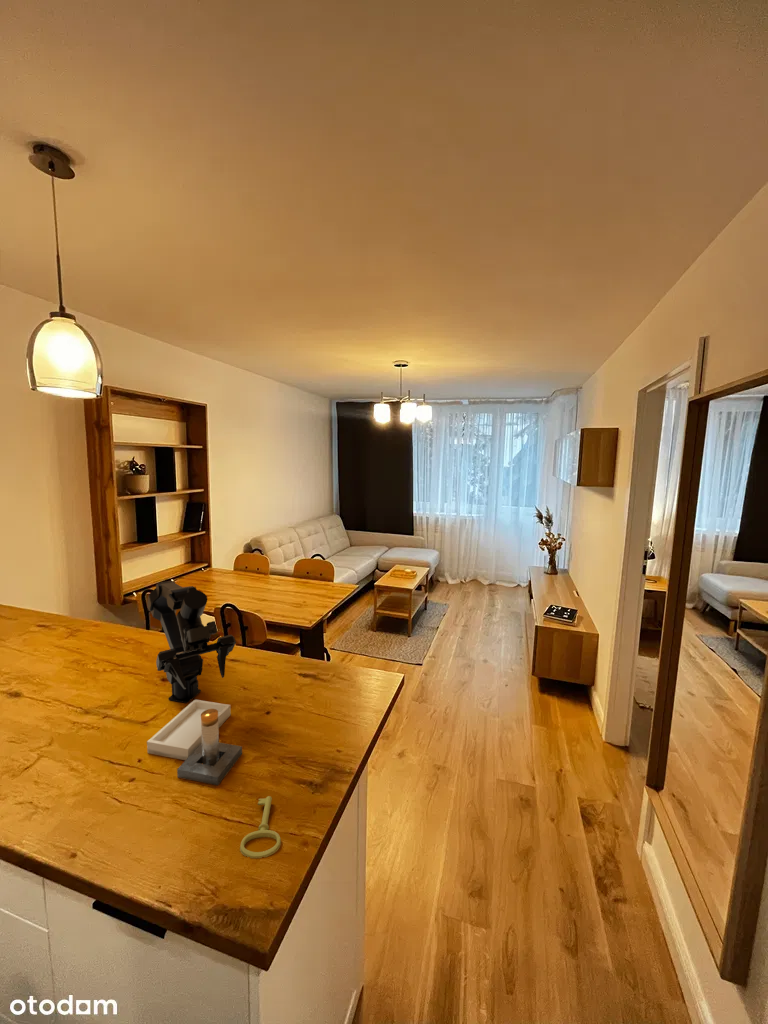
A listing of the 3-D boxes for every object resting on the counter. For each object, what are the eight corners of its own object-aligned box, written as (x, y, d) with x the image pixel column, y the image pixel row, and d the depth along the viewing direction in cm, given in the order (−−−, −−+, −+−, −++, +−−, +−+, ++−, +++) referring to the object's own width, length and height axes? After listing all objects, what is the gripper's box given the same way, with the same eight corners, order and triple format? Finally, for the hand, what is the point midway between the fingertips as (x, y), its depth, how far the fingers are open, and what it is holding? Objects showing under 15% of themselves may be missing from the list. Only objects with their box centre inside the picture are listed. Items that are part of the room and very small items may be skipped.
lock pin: (199, 769, 96) (197, 717, 95) (208, 758, 100) (207, 707, 98) (213, 772, 96) (211, 719, 94) (222, 761, 99) (221, 710, 97)
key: (271, 802, 89) (271, 793, 88) (282, 852, 78) (282, 842, 77) (235, 813, 86) (235, 804, 85) (241, 868, 75) (241, 857, 74)
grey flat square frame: (177, 777, 94) (177, 769, 94) (205, 747, 104) (204, 739, 103) (218, 785, 92) (217, 777, 92) (242, 754, 102) (242, 746, 101)
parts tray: (147, 753, 101) (146, 741, 101) (195, 709, 119) (194, 699, 118) (188, 760, 99) (187, 749, 99) (230, 715, 116) (230, 705, 116)
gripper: (155, 621, 104) (167, 681, 96) (231, 605, 115) (248, 658, 108) (151, 642, 111) (162, 699, 103) (224, 625, 122) (238, 676, 114)
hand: (204, 682), depth 107 cm, fingers open, 9 cm apart
